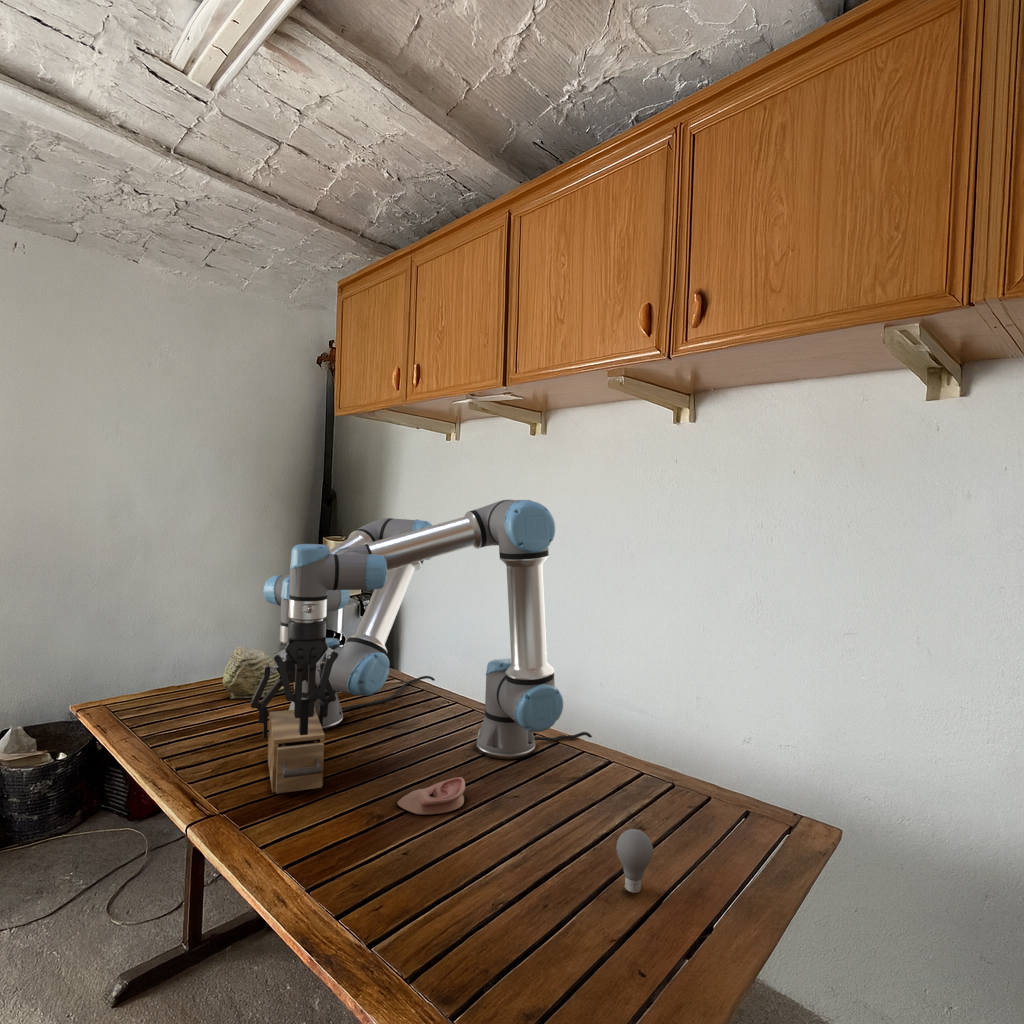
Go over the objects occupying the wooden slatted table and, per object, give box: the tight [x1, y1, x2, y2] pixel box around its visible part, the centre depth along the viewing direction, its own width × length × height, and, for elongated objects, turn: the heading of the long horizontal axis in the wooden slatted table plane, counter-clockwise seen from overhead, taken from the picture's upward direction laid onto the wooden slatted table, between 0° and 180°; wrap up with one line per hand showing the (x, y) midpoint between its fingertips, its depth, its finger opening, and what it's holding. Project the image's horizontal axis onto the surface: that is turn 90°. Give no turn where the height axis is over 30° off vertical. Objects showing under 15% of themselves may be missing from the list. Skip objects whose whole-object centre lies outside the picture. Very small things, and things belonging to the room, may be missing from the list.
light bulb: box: [615, 828, 654, 894], centre depth 106 cm, size 6×6×10 cm
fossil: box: [222, 646, 285, 699], centre depth 198 cm, size 9×18×15 cm, turn 132°
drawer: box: [275, 740, 324, 794], centre depth 139 cm, size 23×9×9 cm, turn 24°
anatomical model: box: [397, 776, 466, 816], centre depth 133 cm, size 13×4×12 cm
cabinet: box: [267, 708, 326, 794], centre depth 145 cm, size 18×10×11 cm, turn 24°
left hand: (292, 733), depth 150 cm, fingers open, 12 cm apart
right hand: (303, 732), depth 131 cm, fingers closed
